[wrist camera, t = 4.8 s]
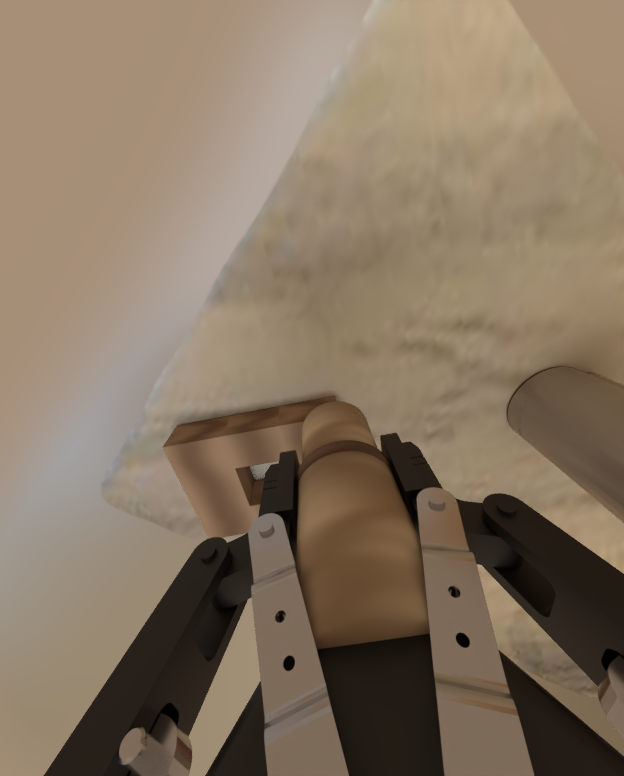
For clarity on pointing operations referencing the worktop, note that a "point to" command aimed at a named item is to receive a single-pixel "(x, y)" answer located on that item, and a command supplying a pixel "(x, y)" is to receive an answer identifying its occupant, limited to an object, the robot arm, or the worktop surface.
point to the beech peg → (355, 536)
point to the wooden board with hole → (233, 461)
